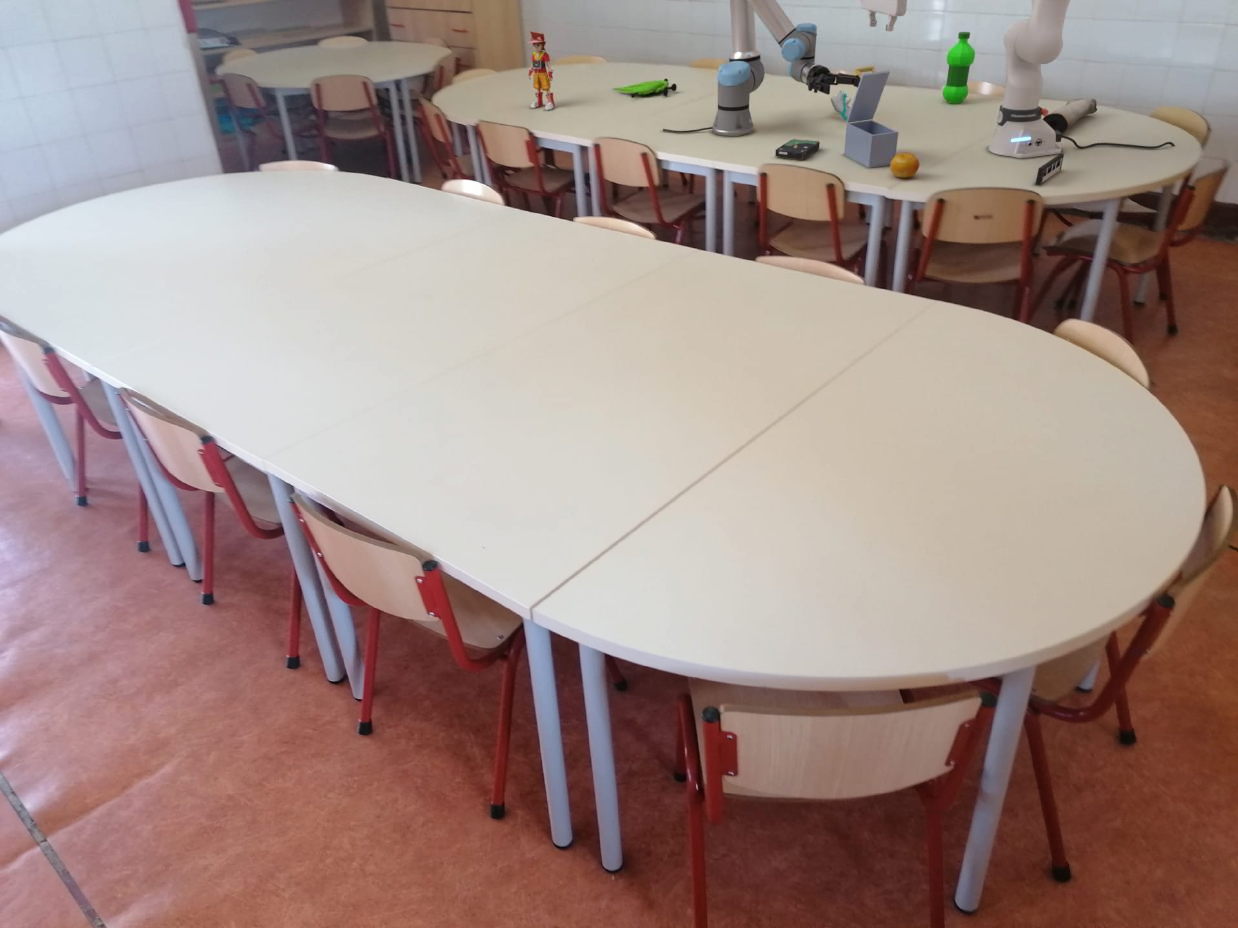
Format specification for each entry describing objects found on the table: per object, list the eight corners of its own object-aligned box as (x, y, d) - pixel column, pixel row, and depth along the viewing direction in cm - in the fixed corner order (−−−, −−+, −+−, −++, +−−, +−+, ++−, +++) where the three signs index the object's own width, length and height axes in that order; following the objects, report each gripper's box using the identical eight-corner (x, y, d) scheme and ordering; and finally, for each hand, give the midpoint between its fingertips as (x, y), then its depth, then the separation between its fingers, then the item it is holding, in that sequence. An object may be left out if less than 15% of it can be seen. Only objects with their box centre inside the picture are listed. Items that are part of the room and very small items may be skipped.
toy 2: (686, 85, 398) (631, 84, 414) (685, 72, 395) (629, 72, 411) (651, 104, 381) (596, 103, 397) (650, 92, 378) (594, 91, 394)
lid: (889, 72, 286) (879, 57, 290) (863, 75, 284) (853, 61, 288) (872, 119, 301) (863, 105, 305) (847, 123, 299) (838, 108, 303)
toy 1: (525, 109, 381) (517, 32, 364) (534, 104, 388) (527, 28, 371) (550, 110, 377) (543, 32, 360) (559, 105, 384) (553, 28, 367)
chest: (894, 164, 294) (898, 132, 288) (868, 168, 292) (872, 135, 286) (868, 151, 307) (872, 120, 301) (843, 154, 305) (846, 123, 300)
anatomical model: (825, 90, 346) (851, 83, 346) (828, 117, 352) (853, 110, 352) (836, 99, 334) (863, 92, 333) (839, 127, 340) (865, 120, 339)
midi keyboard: (1039, 185, 269) (1043, 168, 266) (1035, 184, 270) (1038, 168, 267) (1060, 170, 279) (1064, 154, 277) (1056, 169, 280) (1060, 153, 277)
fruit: (884, 168, 279) (900, 145, 276) (886, 170, 287) (902, 148, 284) (906, 183, 278) (923, 160, 275) (908, 185, 286) (924, 162, 283)
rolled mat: (1064, 103, 333) (1089, 85, 324) (1077, 124, 333) (1102, 107, 325) (1032, 125, 315) (1057, 107, 307) (1046, 147, 316) (1072, 129, 307)
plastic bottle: (973, 101, 354) (984, 32, 339) (955, 106, 349) (966, 36, 335) (952, 97, 361) (962, 29, 346) (934, 102, 356) (944, 33, 342)
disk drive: (803, 161, 302) (819, 149, 312) (803, 153, 300) (820, 140, 310) (774, 158, 306) (791, 146, 316) (775, 149, 305) (792, 137, 315)
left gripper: (846, 83, 325) (878, 95, 308) (784, 91, 319) (813, 104, 302) (848, 61, 320) (880, 71, 304) (785, 69, 315) (814, 80, 298)
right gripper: (915, -19, 262) (908, 32, 270) (877, -26, 279) (872, 23, 286) (896, -17, 261) (890, 35, 269) (859, -24, 277) (855, 25, 285)
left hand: (846, 88), depth 303 cm, fingers open, 13 cm apart
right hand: (880, 29), depth 278 cm, fingers open, 8 cm apart
